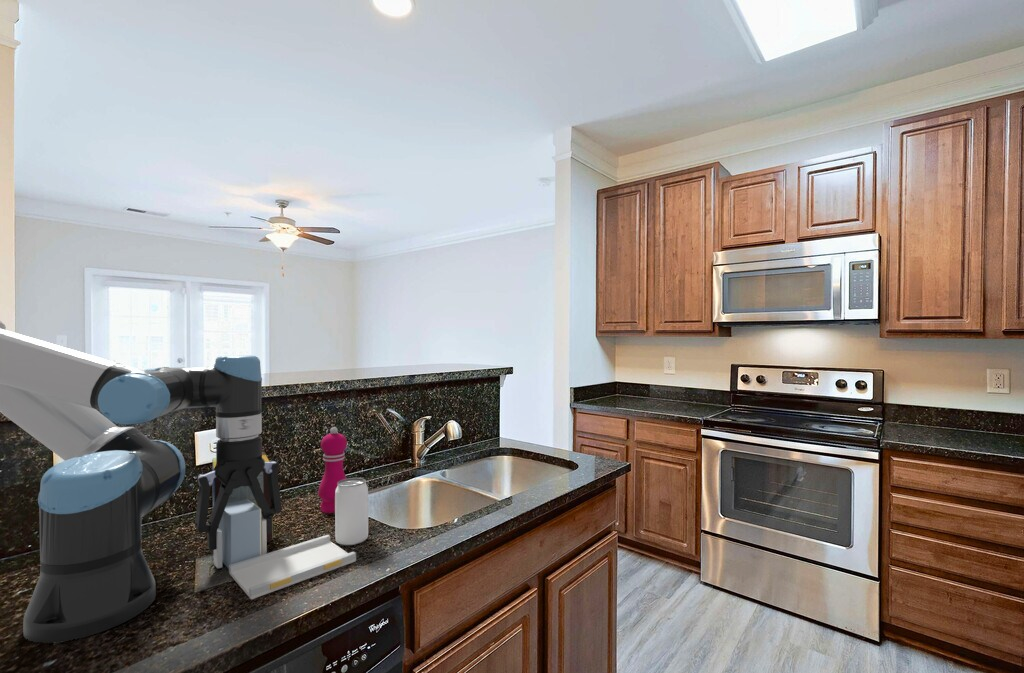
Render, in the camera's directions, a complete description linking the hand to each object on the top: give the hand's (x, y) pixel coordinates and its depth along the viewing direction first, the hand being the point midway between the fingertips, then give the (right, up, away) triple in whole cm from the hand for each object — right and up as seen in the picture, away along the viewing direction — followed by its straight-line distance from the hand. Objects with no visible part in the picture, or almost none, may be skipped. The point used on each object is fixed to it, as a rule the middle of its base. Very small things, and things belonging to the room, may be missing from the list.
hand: (240, 558), depth 90 cm
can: (+18, 0, +9) cm, 20 cm away
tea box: (0, 0, 0) cm, 0 cm away
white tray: (+12, 0, -3) cm, 12 cm away
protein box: (-7, -1, +12) cm, 14 cm away
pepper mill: (+8, 0, +26) cm, 27 cm away
